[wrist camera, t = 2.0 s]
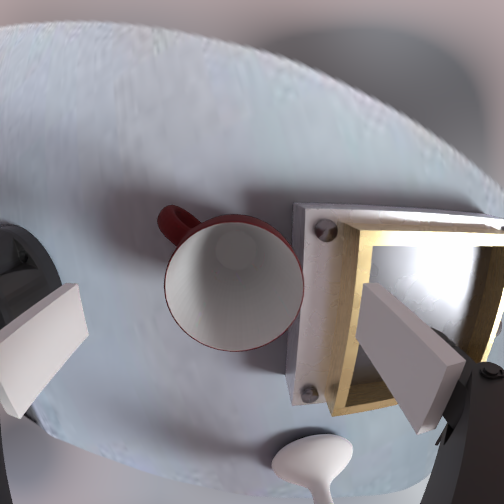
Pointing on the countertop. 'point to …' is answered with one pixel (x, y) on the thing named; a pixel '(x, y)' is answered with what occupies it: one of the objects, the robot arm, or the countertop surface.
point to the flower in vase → (313, 463)
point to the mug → (230, 279)
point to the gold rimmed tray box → (393, 280)
